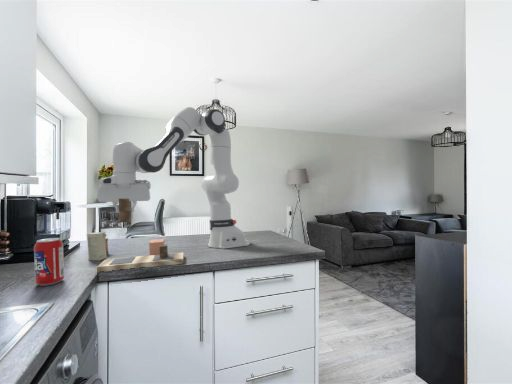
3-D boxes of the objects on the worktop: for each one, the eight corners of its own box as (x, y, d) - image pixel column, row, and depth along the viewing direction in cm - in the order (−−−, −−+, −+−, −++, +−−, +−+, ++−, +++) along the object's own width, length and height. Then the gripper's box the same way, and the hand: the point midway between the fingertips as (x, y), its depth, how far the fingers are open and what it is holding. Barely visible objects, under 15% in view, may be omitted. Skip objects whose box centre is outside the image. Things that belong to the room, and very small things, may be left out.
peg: (131, 221, 117) (131, 198, 117) (129, 222, 113) (129, 198, 113) (121, 221, 116) (121, 198, 116) (119, 222, 112) (118, 198, 112)
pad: (135, 257, 115) (135, 256, 115) (131, 262, 106) (131, 262, 106) (115, 259, 113) (115, 258, 113) (109, 264, 104) (109, 264, 104)
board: (183, 256, 122) (182, 241, 122) (183, 263, 110) (182, 246, 110) (105, 263, 113) (105, 247, 113) (96, 272, 102) (96, 254, 102)
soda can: (67, 282, 91) (65, 238, 91) (37, 289, 85) (36, 242, 85) (61, 277, 96) (59, 236, 96) (33, 283, 91) (31, 240, 90)
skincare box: (106, 258, 123) (106, 232, 122) (99, 261, 118) (98, 233, 118) (95, 257, 124) (94, 231, 124) (87, 260, 120) (86, 233, 120)
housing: (164, 253, 130) (164, 238, 130) (163, 256, 122) (163, 241, 122) (151, 254, 128) (151, 239, 128) (149, 258, 121) (149, 242, 121)
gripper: (151, 180, 120) (151, 210, 120) (100, 180, 115) (101, 212, 115) (149, 179, 114) (149, 211, 114) (96, 179, 109) (96, 213, 109)
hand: (125, 212), depth 114 cm, fingers closed on peg, 4 cm apart
